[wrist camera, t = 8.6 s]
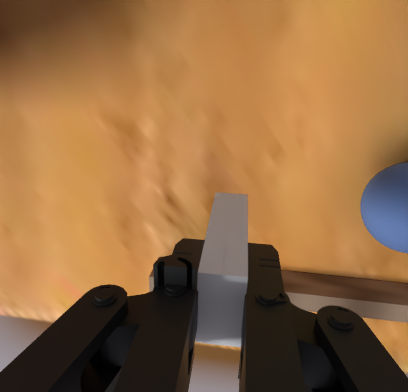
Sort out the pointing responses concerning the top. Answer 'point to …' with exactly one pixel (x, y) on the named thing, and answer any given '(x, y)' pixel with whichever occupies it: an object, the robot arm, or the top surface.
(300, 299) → the lane bumper
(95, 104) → the top surface
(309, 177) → the top surface
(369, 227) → the ball
